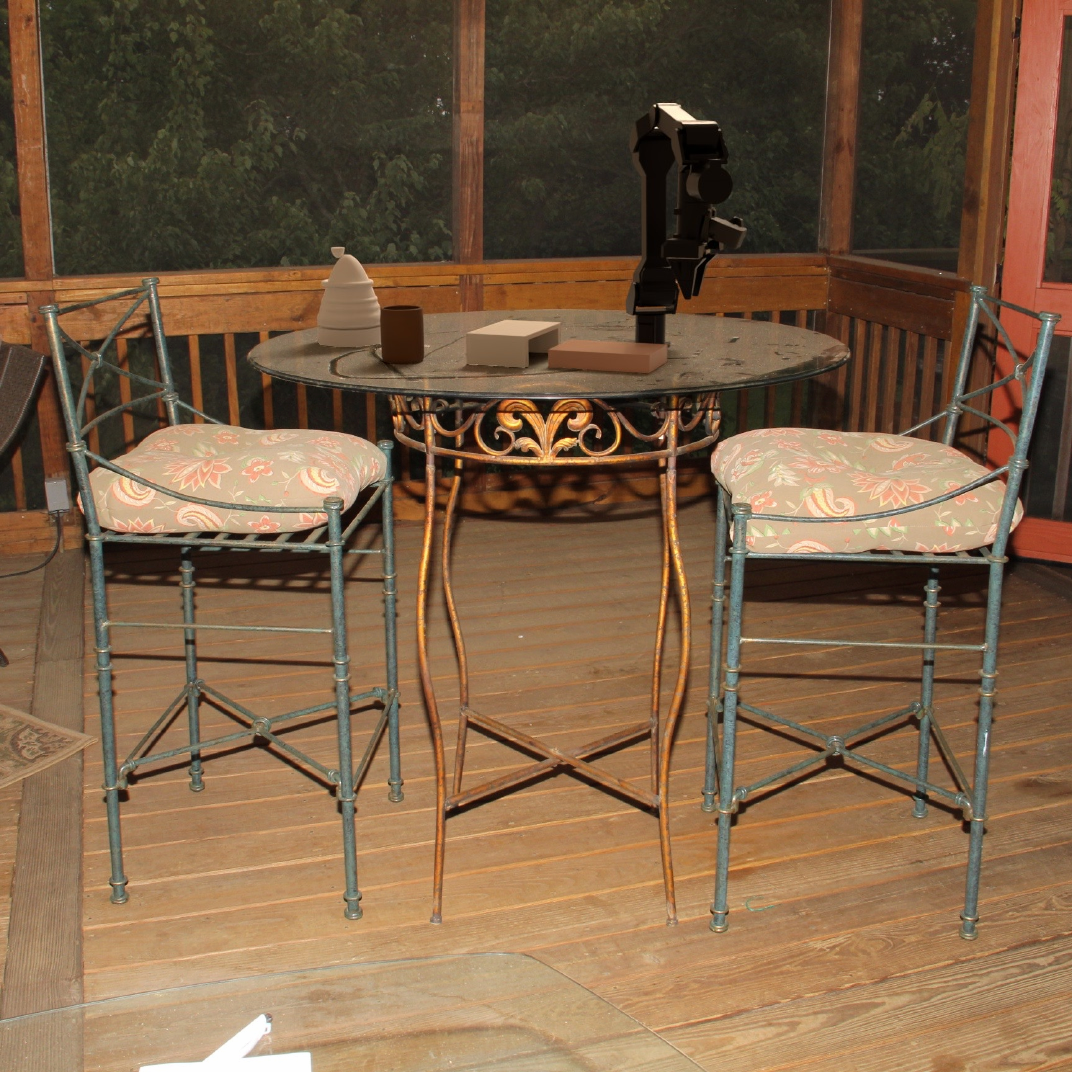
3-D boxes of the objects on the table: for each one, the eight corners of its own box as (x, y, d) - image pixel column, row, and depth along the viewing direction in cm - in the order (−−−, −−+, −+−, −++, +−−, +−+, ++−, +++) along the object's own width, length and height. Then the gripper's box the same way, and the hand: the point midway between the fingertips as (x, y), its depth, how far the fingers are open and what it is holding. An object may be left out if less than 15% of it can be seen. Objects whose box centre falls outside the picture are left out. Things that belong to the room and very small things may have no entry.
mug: (379, 354, 232) (376, 302, 230) (420, 353, 234) (418, 301, 231) (383, 365, 221) (380, 310, 218) (426, 363, 222) (424, 309, 220)
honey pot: (306, 346, 242) (300, 249, 237) (336, 336, 254) (331, 244, 248) (368, 349, 238) (363, 251, 233) (395, 339, 250) (391, 245, 245)
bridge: (505, 349, 237) (505, 319, 235) (561, 352, 233) (561, 322, 232) (466, 364, 221) (466, 333, 219) (525, 368, 217) (525, 336, 216)
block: (570, 358, 230) (570, 339, 229) (666, 364, 224) (667, 344, 223) (548, 369, 219) (548, 349, 218) (649, 375, 213) (649, 355, 212)
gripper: (730, 205, 197) (726, 306, 202) (755, 199, 213) (750, 293, 218) (661, 204, 201) (658, 303, 205) (690, 199, 217) (687, 291, 222)
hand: (691, 297), depth 213 cm, fingers open, 5 cm apart
